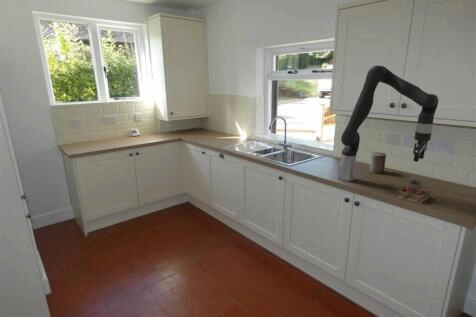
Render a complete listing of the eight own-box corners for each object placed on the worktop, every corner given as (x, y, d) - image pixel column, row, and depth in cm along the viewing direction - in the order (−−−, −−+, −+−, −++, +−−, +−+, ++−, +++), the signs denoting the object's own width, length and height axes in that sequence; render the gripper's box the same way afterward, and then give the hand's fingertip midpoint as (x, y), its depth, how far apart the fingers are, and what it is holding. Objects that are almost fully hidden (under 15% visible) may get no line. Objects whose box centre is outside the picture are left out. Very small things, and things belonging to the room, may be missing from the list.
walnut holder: (396, 196, 167) (397, 190, 166) (404, 190, 175) (405, 185, 174) (421, 203, 158) (422, 197, 157) (428, 197, 166) (430, 191, 165)
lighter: (404, 194, 168) (406, 178, 165) (406, 193, 170) (408, 177, 168) (419, 198, 163) (422, 182, 160) (421, 197, 165) (424, 180, 162)
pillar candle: (386, 172, 208) (389, 152, 205) (377, 174, 204) (380, 154, 201) (375, 169, 217) (377, 149, 213) (366, 170, 213) (368, 151, 209)
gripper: (420, 129, 164) (415, 156, 168) (411, 132, 155) (406, 161, 159) (435, 130, 158) (430, 159, 163) (427, 134, 149) (421, 163, 154)
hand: (418, 160), depth 161 cm, fingers open, 8 cm apart
